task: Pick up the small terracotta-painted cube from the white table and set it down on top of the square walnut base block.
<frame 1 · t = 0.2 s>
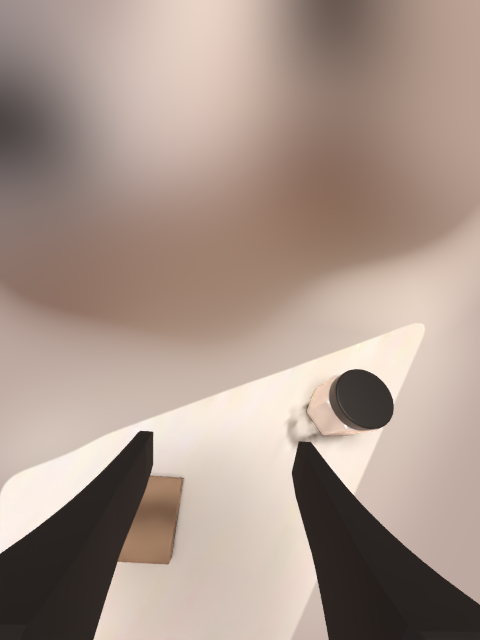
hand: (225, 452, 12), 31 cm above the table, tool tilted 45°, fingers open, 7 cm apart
jar: (329, 411, 44), on the table
base block: (146, 513, 35), on the table
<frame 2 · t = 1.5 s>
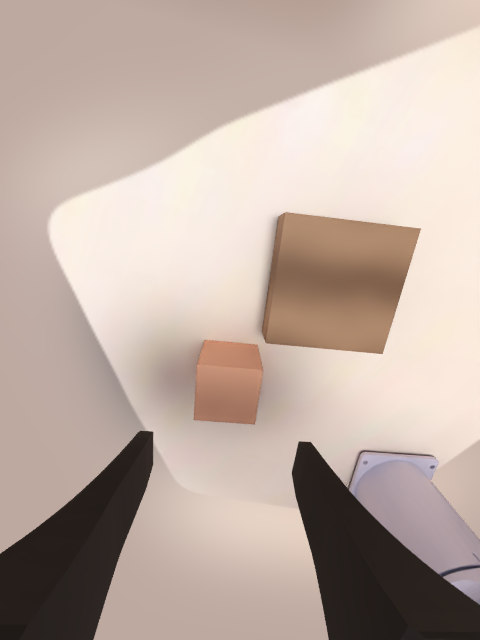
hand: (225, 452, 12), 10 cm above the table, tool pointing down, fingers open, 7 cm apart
cube: (228, 365, 21), on the table
base block: (325, 284, 19), on the table
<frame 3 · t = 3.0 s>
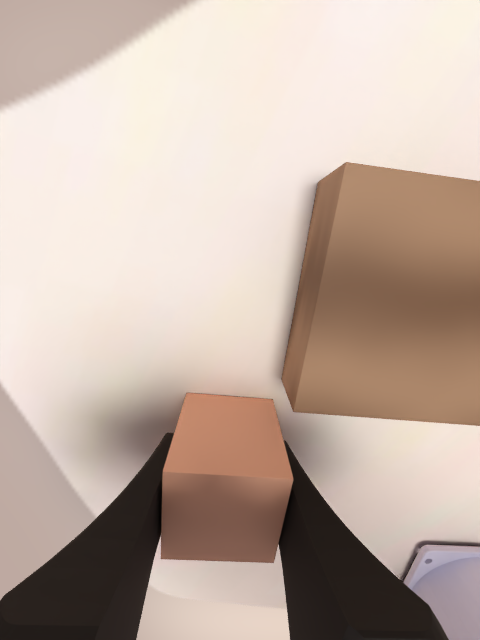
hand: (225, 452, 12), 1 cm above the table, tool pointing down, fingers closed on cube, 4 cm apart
cube: (226, 431, 13), on the table, touching gripper
base block: (391, 302, 11), on the table
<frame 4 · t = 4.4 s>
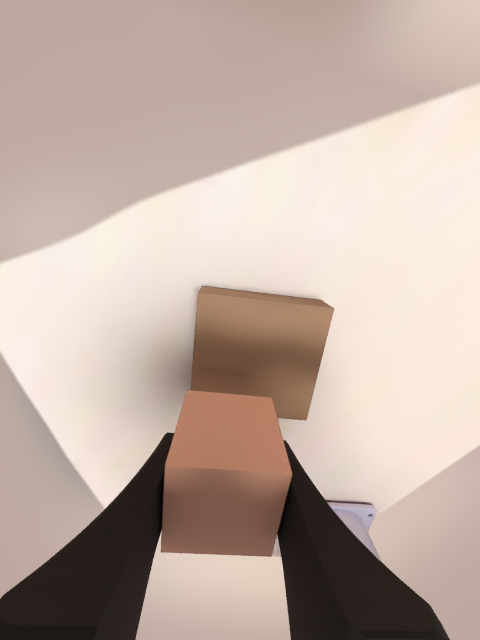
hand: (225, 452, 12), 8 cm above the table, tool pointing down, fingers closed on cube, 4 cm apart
cube: (225, 428, 13), point 7 cm above the table, touching gripper
base block: (254, 347, 19), on the table
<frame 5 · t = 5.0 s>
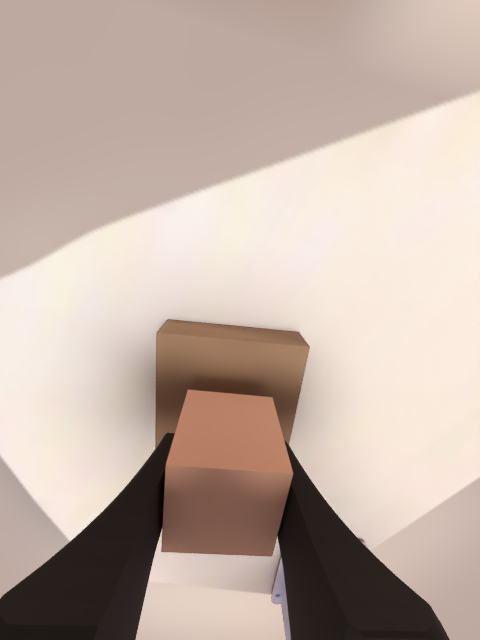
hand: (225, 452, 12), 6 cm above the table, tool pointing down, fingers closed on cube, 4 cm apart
cube: (225, 428, 13), point 5 cm above the table, touching gripper
base block: (227, 383, 18), on the table
when the fingers open (5 cm above the table, at t = 5.7 s): cube stays where it is, resting on base block.
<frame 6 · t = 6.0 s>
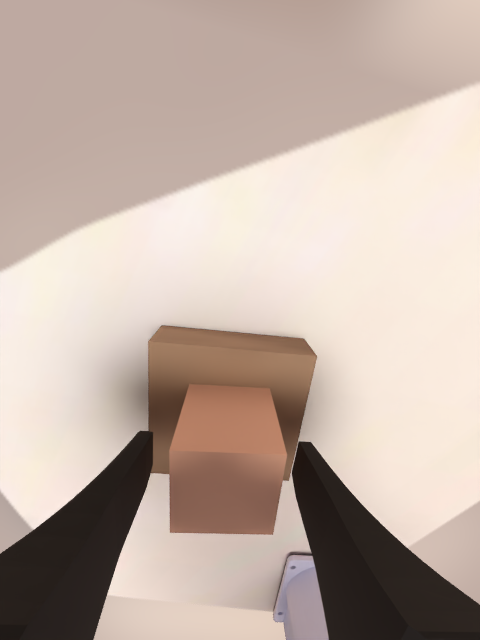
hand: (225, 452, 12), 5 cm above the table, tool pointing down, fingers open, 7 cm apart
cube: (227, 419, 14), point 2 cm above the table, touching base block
base block: (227, 393, 17), on the table
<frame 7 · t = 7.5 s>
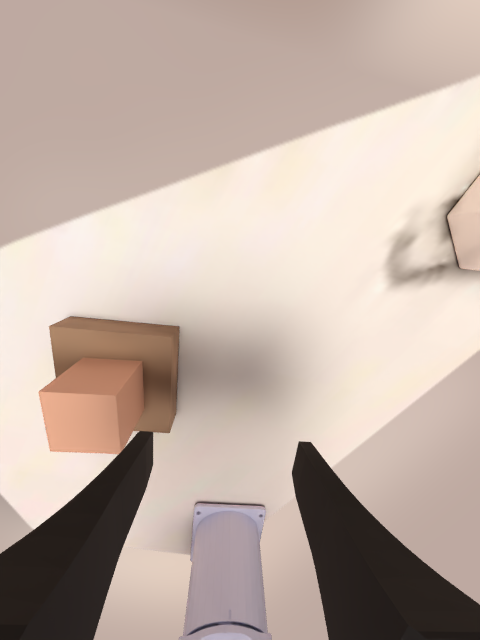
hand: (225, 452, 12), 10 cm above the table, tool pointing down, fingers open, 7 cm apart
cube: (115, 384, 19), point 2 cm above the table, touching base block
base block: (127, 368, 22), on the table
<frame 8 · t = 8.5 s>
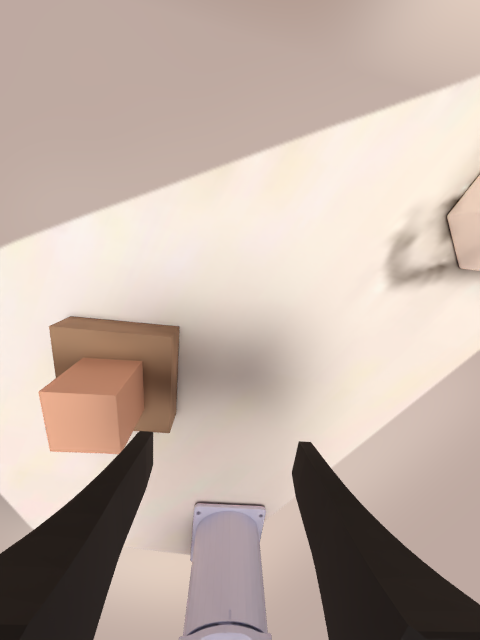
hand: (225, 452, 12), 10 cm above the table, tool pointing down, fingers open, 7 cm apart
cube: (115, 384, 19), point 2 cm above the table, touching base block
base block: (127, 368, 22), on the table
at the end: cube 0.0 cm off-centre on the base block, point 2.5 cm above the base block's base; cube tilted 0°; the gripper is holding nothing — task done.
